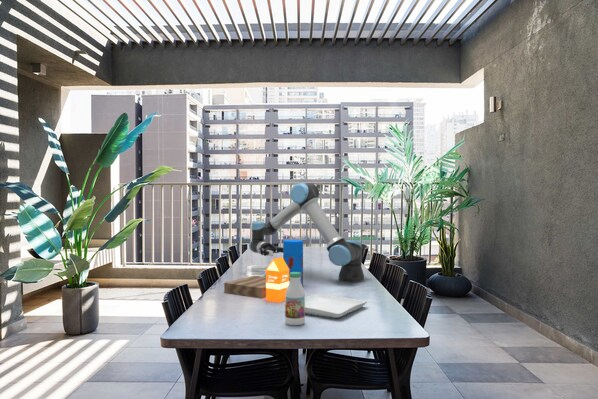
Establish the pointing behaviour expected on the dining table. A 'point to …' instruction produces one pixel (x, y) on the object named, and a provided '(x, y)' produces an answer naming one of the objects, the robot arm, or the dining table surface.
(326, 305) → the square plate
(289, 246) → the thermos
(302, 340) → the dining table surface
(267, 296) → the orange juice
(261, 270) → the holder
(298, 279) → the milk bottle
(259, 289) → the walnut riser
